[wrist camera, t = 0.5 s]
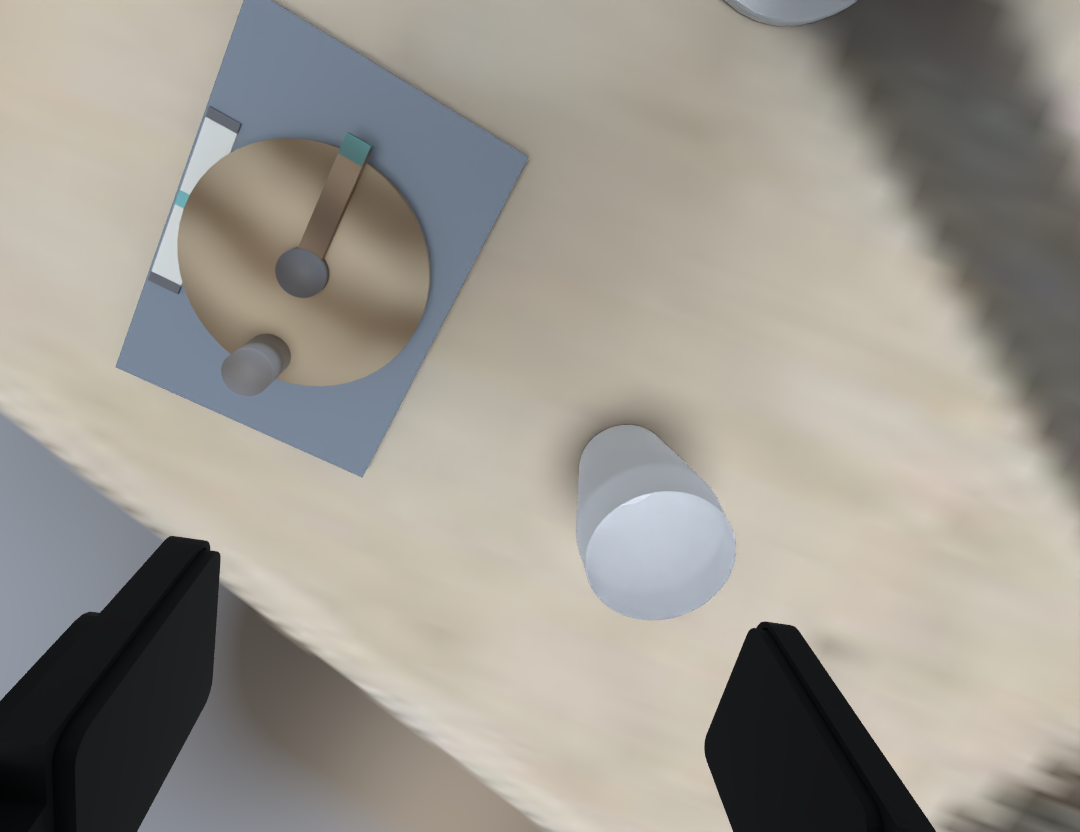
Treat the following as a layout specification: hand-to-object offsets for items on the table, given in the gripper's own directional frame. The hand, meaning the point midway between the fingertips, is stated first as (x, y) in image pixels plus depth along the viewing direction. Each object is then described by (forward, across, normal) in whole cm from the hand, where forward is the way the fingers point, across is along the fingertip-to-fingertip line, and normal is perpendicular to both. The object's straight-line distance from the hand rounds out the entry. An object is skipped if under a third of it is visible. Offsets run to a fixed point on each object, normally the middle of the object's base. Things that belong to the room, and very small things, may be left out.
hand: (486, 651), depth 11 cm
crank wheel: (+32, +11, 0) cm, 34 cm away
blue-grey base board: (+34, +11, 0) cm, 35 cm away
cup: (+34, -12, +10) cm, 37 cm away
